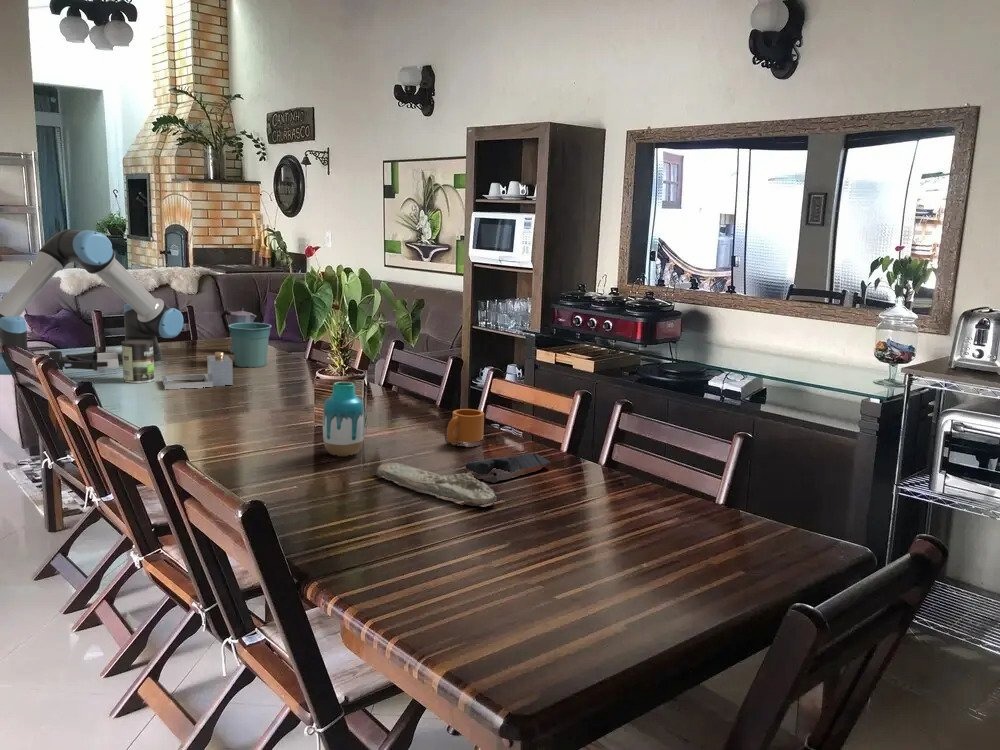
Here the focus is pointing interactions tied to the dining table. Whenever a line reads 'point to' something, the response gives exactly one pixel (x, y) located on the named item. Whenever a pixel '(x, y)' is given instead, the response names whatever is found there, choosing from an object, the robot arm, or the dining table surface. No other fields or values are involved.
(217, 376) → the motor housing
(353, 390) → the vase
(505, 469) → the dark slate chunk
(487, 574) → the dining table surface
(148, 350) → the coffee can
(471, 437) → the mug
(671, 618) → the dining table surface
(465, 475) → the long grey stone
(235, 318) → the moka pot
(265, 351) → the flower pot
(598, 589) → the dining table surface
